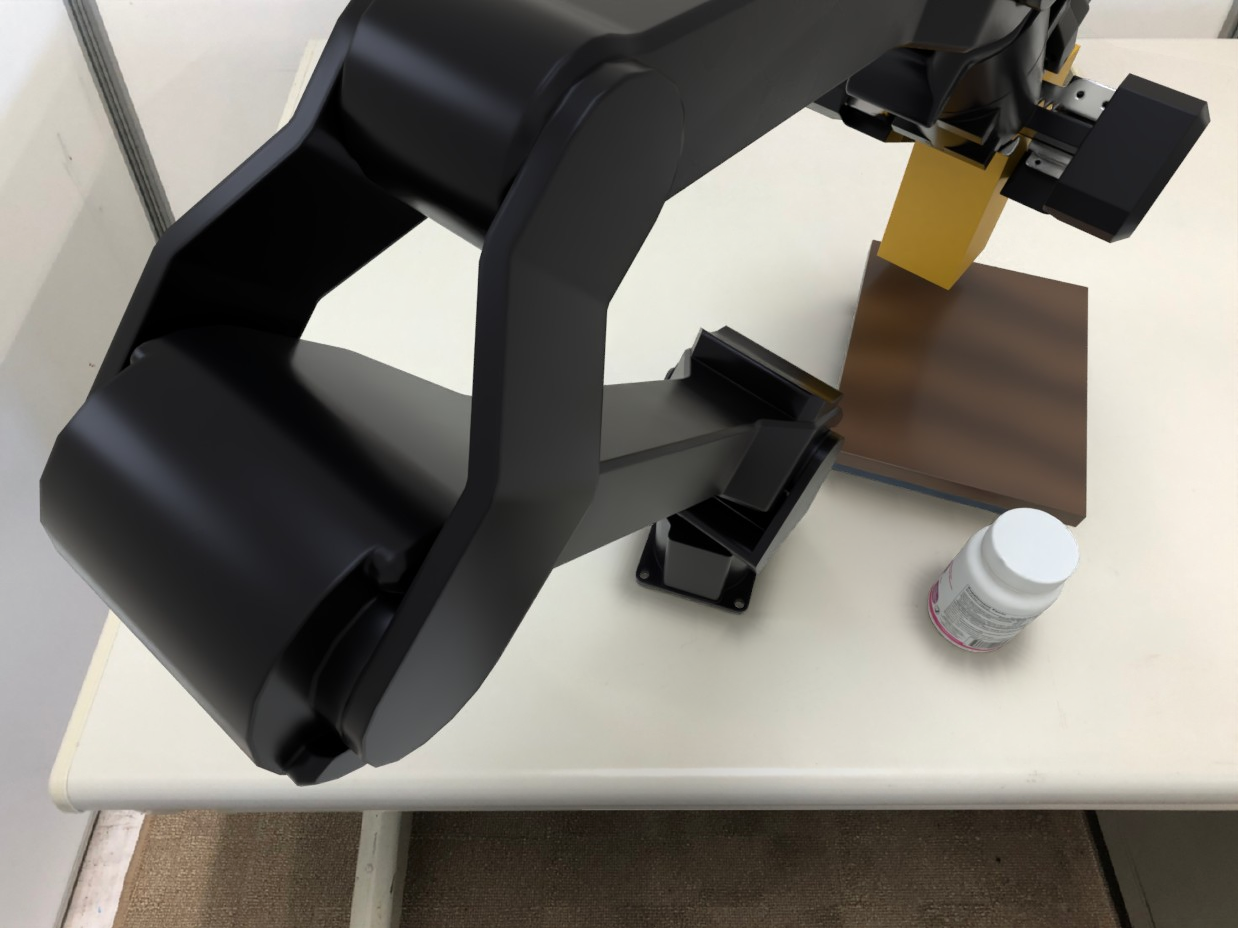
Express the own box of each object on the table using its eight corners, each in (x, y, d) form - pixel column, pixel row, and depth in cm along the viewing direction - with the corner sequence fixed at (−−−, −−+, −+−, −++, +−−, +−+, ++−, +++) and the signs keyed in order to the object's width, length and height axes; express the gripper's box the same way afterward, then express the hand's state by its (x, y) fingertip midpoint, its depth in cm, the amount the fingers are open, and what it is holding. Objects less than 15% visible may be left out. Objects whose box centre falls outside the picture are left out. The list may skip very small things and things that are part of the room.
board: (1045, 556, 46) (1086, 517, 42) (807, 490, 48) (825, 447, 44) (1054, 336, 55) (1088, 286, 51) (854, 289, 57) (872, 239, 54)
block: (948, 290, 48) (1040, 88, 38) (876, 255, 50) (944, 53, 40) (984, 248, 51) (1081, 45, 40) (914, 216, 52) (988, 13, 42)
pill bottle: (948, 558, 46) (1010, 482, 39) (1026, 607, 44) (1106, 537, 37) (909, 618, 44) (967, 549, 37) (989, 672, 42) (1066, 611, 35)
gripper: (1369, -105, 26) (1242, 72, 40) (871, -238, 32) (912, -45, 46) (1151, 210, 29) (1104, 272, 43) (736, 33, 36) (812, 137, 50)
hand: (979, 150), depth 46 cm, fingers closed on block, 5 cm apart
